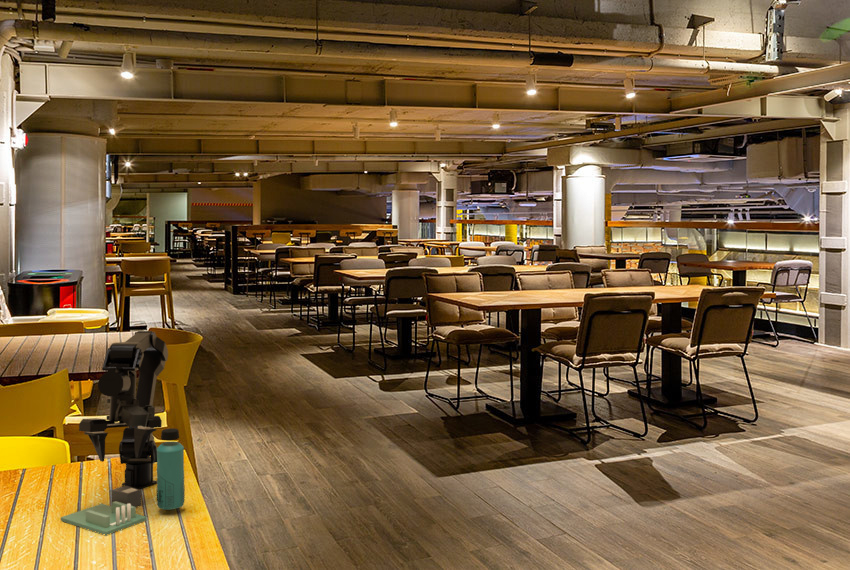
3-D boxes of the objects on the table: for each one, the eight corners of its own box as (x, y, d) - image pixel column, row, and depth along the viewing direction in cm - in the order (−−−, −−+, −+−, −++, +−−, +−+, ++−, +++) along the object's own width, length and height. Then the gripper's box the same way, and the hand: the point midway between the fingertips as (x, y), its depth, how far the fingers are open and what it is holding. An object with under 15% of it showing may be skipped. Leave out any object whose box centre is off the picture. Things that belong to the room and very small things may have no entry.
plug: (111, 505, 188) (111, 489, 188) (125, 501, 192) (125, 485, 191) (127, 510, 185) (127, 494, 185) (141, 506, 188) (141, 489, 188)
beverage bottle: (190, 509, 186) (190, 428, 185) (170, 518, 180) (170, 434, 179) (170, 504, 189) (170, 424, 188) (150, 513, 183) (149, 430, 182)
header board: (60, 520, 177) (60, 500, 177) (101, 506, 187) (101, 487, 186) (105, 535, 169) (105, 514, 169) (146, 520, 179) (146, 499, 178)
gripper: (104, 397, 175) (101, 466, 174) (175, 394, 190) (173, 458, 188) (79, 395, 182) (76, 462, 181) (150, 393, 197) (147, 454, 195)
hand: (120, 459), depth 186 cm, fingers open, 9 cm apart
